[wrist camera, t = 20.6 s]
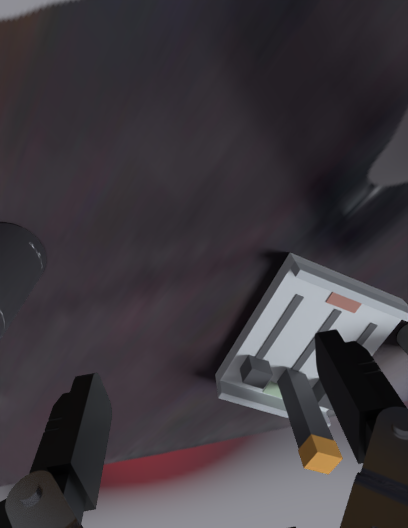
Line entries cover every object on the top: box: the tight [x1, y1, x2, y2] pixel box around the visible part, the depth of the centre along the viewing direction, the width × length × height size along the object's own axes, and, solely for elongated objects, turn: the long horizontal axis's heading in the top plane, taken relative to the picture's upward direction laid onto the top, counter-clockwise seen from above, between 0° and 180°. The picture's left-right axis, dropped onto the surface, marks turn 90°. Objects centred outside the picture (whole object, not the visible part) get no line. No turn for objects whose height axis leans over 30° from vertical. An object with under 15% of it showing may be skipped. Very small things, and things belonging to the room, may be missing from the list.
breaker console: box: [215, 253, 408, 427], centre depth 58 cm, size 24×20×6 cm
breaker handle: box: [277, 368, 343, 474], centre depth 53 cm, size 3×4×14 cm
